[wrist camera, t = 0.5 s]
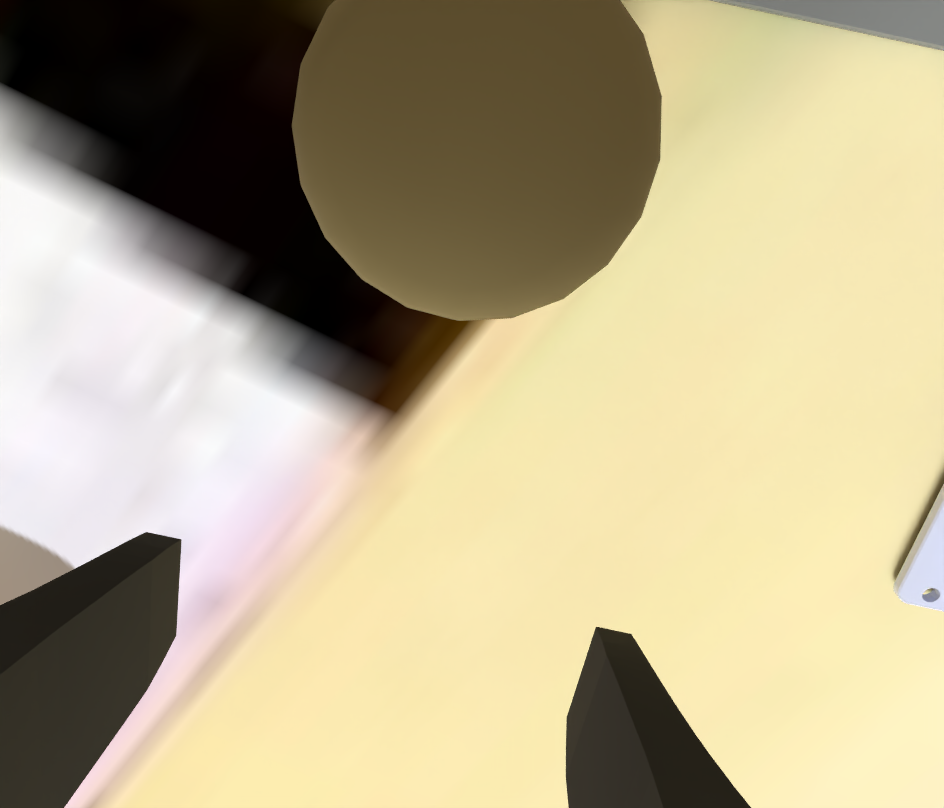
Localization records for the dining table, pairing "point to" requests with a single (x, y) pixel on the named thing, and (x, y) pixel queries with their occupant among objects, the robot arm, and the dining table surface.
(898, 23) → the slate mat
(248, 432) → the dining table surface
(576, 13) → the cork
